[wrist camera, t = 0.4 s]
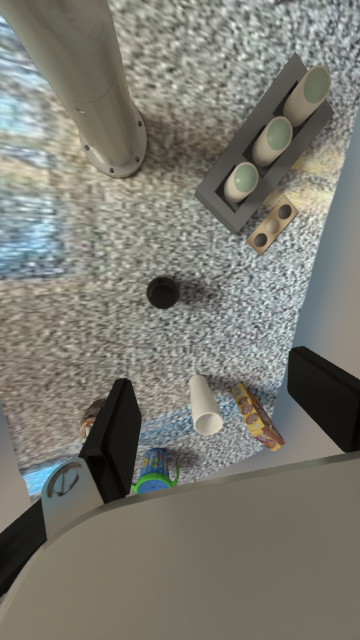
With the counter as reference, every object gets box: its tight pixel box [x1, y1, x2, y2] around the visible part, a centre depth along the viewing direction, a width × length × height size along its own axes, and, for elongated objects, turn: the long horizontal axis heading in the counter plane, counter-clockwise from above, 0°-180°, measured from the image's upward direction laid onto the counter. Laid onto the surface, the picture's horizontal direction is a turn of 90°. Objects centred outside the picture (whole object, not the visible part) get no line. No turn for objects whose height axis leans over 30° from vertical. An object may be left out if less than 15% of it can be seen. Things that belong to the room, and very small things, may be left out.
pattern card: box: [246, 195, 298, 255], centre depth 41 cm, size 12×5×1 cm, turn 141°
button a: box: [224, 162, 258, 203], centre depth 33 cm, size 5×5×5 cm
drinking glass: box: [189, 375, 223, 435], centre depth 46 cm, size 7×7×15 cm
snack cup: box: [131, 449, 179, 494], centre depth 57 cm, size 16×10×10 cm
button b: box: [252, 116, 292, 167], centre depth 31 cm, size 5×5×5 cm
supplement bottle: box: [147, 275, 179, 309], centre depth 38 cm, size 7×7×12 cm
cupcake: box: [80, 399, 106, 445], centre depth 49 cm, size 10×10×10 cm
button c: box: [283, 65, 331, 127], centre depth 30 cm, size 5×5×5 cm
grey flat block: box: [194, 52, 334, 234], centre depth 35 cm, size 26×12×4 cm, turn 141°
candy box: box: [231, 383, 285, 451], centre depth 49 cm, size 9×4×15 cm, turn 45°
